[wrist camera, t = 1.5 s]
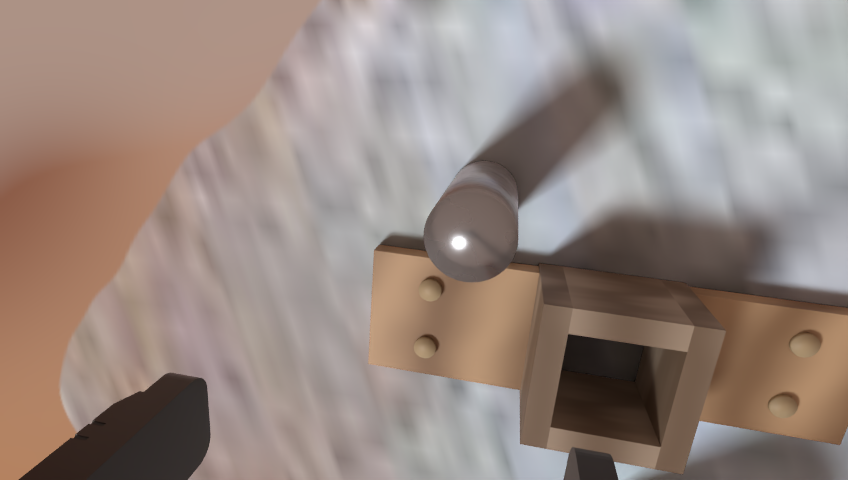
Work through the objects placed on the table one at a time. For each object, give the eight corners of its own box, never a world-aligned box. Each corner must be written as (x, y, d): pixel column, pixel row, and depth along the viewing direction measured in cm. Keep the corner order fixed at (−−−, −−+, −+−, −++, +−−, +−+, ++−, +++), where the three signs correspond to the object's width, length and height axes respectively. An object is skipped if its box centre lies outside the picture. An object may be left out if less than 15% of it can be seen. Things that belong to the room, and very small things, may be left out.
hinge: (877, 308, 27) (970, 366, 22) (826, 434, 30) (898, 514, 24) (379, 241, 32) (349, 275, 26) (373, 357, 34) (344, 410, 29)
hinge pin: (522, 164, 29) (524, 198, 20) (513, 230, 30) (511, 288, 21) (453, 157, 29) (427, 186, 21) (447, 222, 30) (420, 275, 22)
